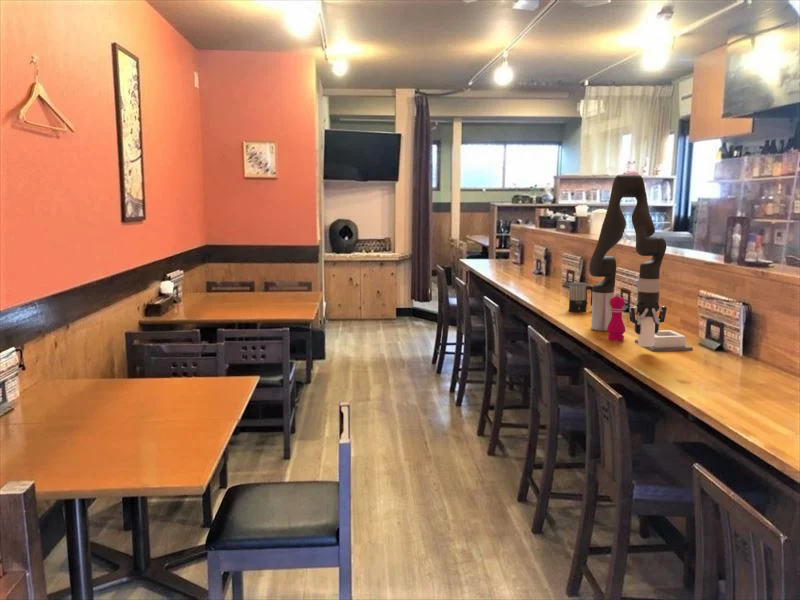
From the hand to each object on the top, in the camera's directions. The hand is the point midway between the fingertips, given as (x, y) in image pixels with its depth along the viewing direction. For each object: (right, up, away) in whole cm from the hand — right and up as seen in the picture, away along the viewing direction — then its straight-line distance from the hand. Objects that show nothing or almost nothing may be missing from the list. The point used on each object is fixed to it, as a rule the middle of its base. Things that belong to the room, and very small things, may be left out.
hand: (646, 333), depth 235 cm
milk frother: (+1, +7, +94) cm, 94 cm away
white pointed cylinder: (0, -5, +1) cm, 5 cm away
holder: (+12, -6, +12) cm, 18 cm away
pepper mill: (-3, -4, +25) cm, 25 cm away
